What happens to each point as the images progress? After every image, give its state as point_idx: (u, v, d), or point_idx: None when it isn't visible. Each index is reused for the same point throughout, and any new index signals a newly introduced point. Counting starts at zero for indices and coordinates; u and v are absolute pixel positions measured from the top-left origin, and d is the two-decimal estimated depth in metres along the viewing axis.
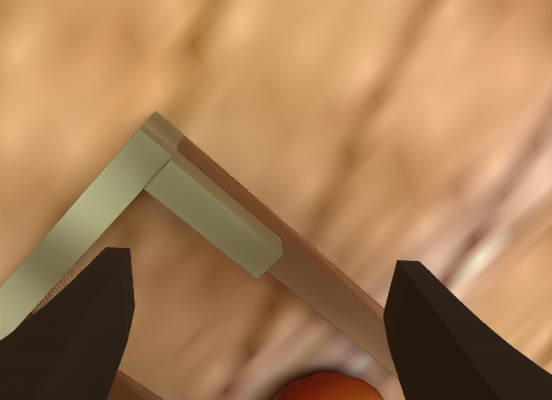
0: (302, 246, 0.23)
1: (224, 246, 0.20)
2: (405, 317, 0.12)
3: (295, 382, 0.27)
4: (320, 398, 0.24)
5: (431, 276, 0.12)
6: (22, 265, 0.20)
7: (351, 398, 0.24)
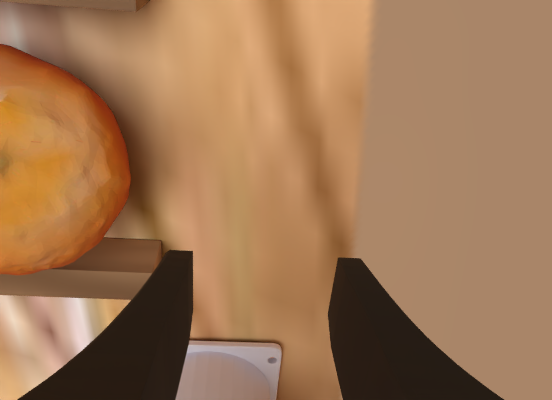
0: None
1: None
2: (342, 315, 0.12)
3: None
4: None
5: (368, 273, 0.12)
6: None
7: None
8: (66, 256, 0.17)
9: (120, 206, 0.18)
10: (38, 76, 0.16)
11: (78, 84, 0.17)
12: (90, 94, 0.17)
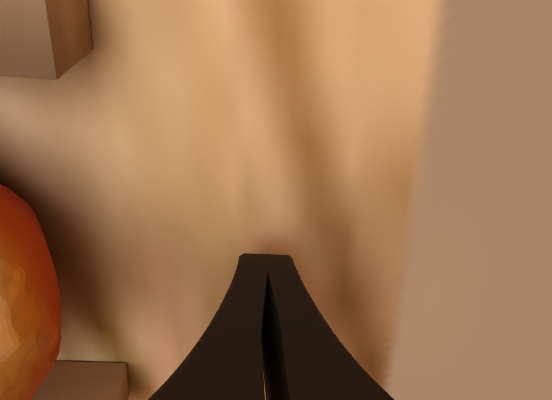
0: None
1: None
2: (266, 312, 0.12)
3: None
4: None
5: (291, 270, 0.12)
6: None
7: None
8: None
9: (44, 373, 0.11)
10: None
11: None
12: None
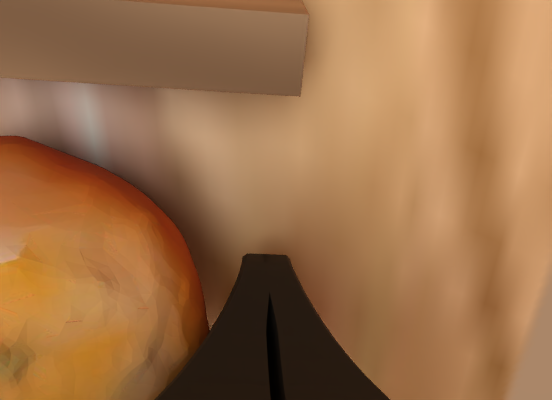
0: None
1: None
2: None
3: None
4: None
5: (288, 270, 0.12)
6: None
7: None
8: None
9: None
10: (74, 201, 0.10)
11: (137, 205, 0.10)
12: (155, 221, 0.10)
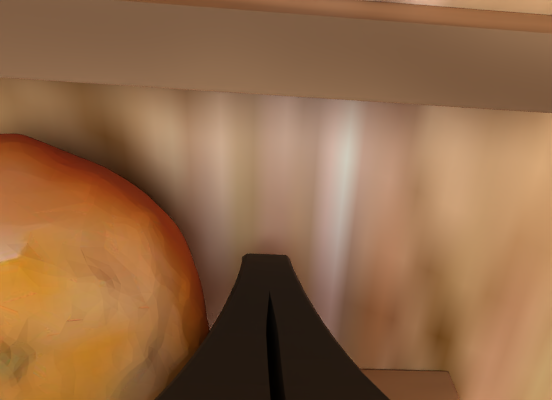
0: None
1: None
2: None
3: None
4: None
5: (288, 270, 0.12)
6: None
7: None
8: None
9: None
10: (76, 200, 0.10)
11: (138, 205, 0.10)
12: (157, 220, 0.10)
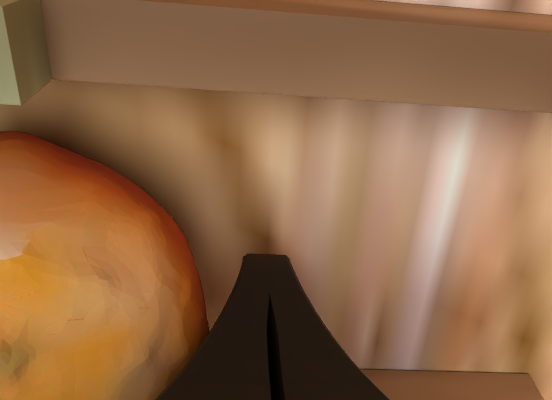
0: None
1: None
2: None
3: None
4: None
5: (288, 270, 0.12)
6: None
7: None
8: None
9: None
10: (78, 198, 0.10)
11: (140, 204, 0.10)
12: (158, 220, 0.10)
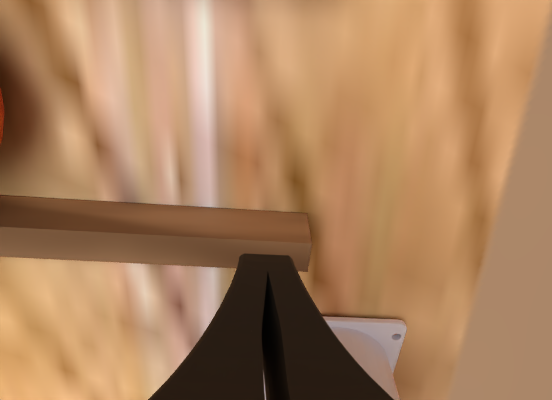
0: None
1: None
2: (265, 312, 0.12)
3: None
4: None
5: (291, 270, 0.12)
6: None
7: None
8: None
9: None
10: None
11: None
12: None
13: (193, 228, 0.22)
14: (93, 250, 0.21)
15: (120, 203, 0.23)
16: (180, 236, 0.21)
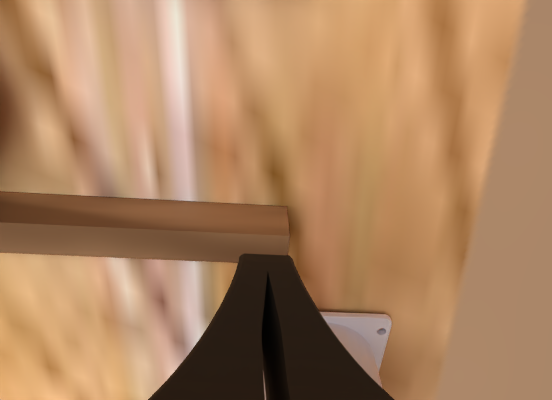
0: None
1: None
2: (265, 312, 0.12)
3: None
4: None
5: (291, 270, 0.12)
6: None
7: None
8: None
9: None
10: None
11: None
12: None
13: (170, 221, 0.22)
14: (70, 244, 0.21)
15: (98, 197, 0.23)
16: (156, 229, 0.21)
